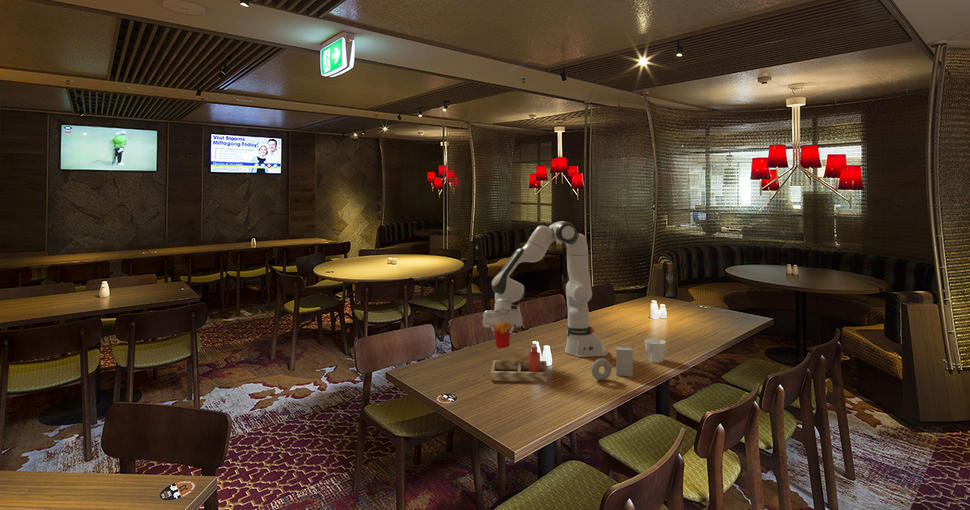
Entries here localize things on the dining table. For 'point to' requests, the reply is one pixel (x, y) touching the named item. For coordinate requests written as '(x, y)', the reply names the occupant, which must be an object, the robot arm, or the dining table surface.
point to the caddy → (518, 375)
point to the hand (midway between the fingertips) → (502, 333)
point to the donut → (606, 371)
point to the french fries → (502, 335)
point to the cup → (654, 350)
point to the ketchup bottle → (534, 360)
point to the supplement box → (624, 360)
